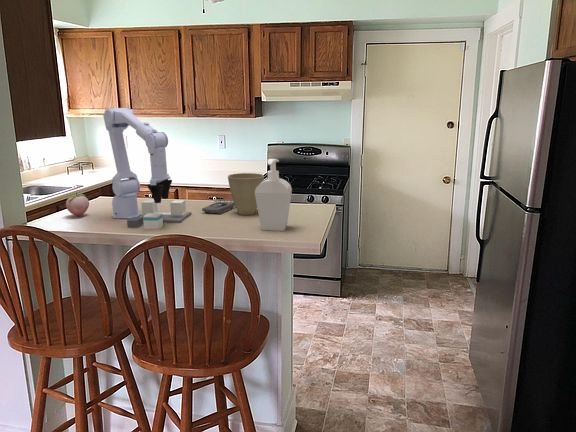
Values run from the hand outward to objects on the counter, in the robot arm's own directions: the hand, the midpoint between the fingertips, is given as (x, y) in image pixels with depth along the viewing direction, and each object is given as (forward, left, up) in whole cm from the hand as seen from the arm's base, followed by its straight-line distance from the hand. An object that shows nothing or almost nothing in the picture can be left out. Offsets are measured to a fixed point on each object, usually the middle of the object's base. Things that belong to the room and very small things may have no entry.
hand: (161, 200), depth 182 cm
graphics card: (+15, +26, -10) cm, 32 cm away
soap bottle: (+44, -3, -10) cm, 45 cm away
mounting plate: (-3, +10, -10) cm, 15 cm away
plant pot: (+29, +21, -10) cm, 37 cm away
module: (-2, -4, -10) cm, 11 cm away
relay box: (-10, -2, -10) cm, 14 cm away
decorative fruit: (-41, +11, -10) cm, 44 cm away
